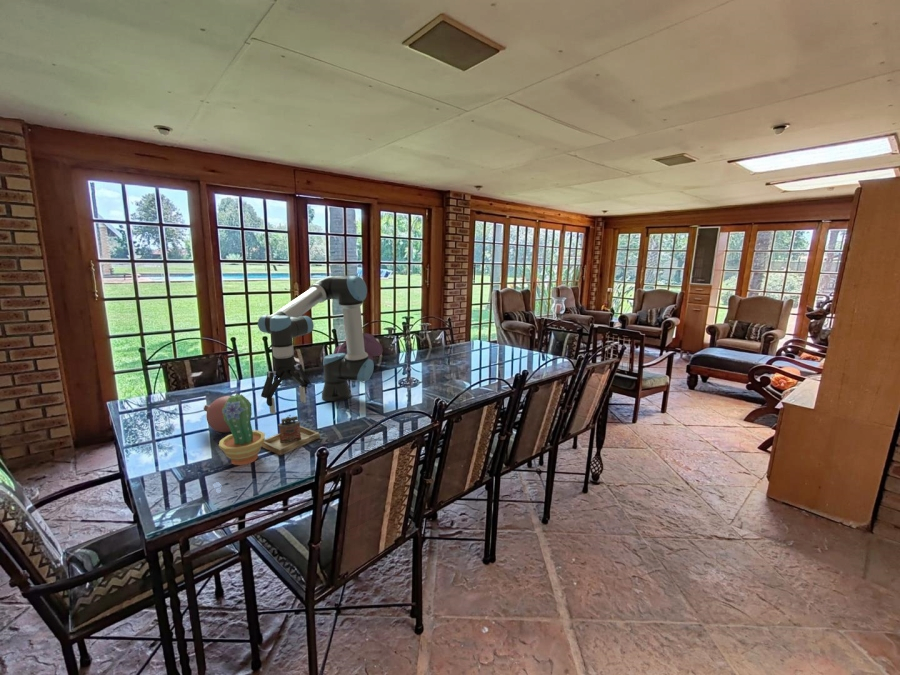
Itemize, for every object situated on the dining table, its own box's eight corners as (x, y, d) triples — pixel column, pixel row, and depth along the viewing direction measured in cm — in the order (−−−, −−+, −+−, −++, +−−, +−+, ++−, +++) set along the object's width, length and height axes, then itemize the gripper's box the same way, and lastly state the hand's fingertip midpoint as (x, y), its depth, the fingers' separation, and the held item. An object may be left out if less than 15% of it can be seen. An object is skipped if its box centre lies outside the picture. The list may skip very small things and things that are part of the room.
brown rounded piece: (224, 419, 183) (221, 387, 180) (257, 426, 176) (254, 393, 172) (192, 433, 169) (187, 398, 166) (226, 441, 162) (222, 405, 158)
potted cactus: (210, 465, 144) (202, 399, 139) (246, 446, 158) (239, 386, 153) (243, 473, 138) (235, 405, 133) (276, 453, 152) (271, 391, 147)
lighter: (279, 444, 158) (277, 420, 156) (280, 440, 162) (277, 417, 159) (301, 440, 162) (299, 417, 159) (301, 437, 165) (299, 414, 163)
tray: (299, 430, 172) (299, 425, 172) (319, 437, 165) (319, 432, 165) (260, 446, 158) (260, 441, 157) (280, 455, 151) (279, 450, 150)
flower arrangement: (351, 387, 243) (354, 345, 233) (319, 375, 250) (321, 334, 240) (381, 367, 274) (385, 329, 264) (353, 357, 281) (355, 320, 271)
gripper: (304, 347, 166) (308, 395, 171) (247, 361, 146) (253, 415, 151) (316, 350, 162) (320, 399, 167) (258, 365, 142) (264, 420, 147)
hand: (288, 407), depth 159 cm, fingers open, 13 cm apart
